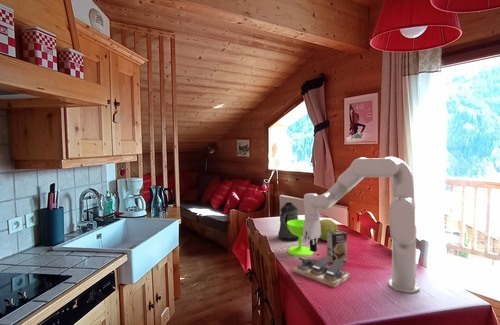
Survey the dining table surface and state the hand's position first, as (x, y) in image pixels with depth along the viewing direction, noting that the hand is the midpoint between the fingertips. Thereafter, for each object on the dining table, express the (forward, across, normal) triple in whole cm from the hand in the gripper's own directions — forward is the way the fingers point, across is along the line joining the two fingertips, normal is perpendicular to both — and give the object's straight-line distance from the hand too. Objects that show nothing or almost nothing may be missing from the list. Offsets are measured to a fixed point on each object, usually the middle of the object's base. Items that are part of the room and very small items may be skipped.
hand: (313, 250), depth 156 cm
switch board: (+10, +4, +7) cm, 12 cm away
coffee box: (+10, -18, +2) cm, 21 cm away
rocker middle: (+4, +4, +7) cm, 9 cm away
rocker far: (+4, +4, -1) cm, 5 cm away
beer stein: (+8, -29, -42) cm, 52 cm away
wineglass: (+9, -14, -21) cm, 27 cm away
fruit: (+9, -45, -23) cm, 51 cm away
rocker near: (+4, +4, +15) cm, 16 cm away
